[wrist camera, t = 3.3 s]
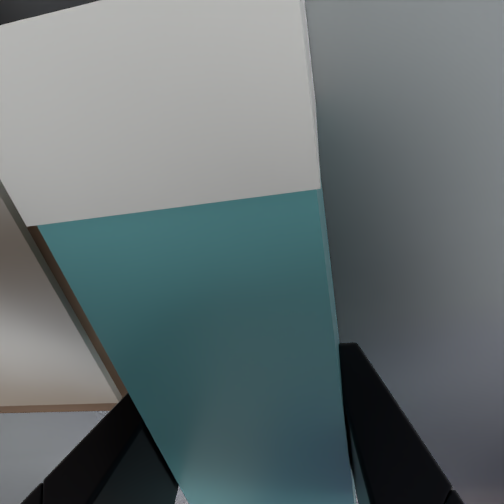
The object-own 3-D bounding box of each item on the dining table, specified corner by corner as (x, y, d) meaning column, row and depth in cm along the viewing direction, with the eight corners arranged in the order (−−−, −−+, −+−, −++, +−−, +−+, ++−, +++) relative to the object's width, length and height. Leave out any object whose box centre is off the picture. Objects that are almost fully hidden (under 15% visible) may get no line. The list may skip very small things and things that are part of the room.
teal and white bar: (352, 439, 12) (365, 580, 9) (240, 440, 13) (221, 571, 10) (300, -36, 6) (294, -47, 3) (88, 15, 7) (-77, 43, 4)
